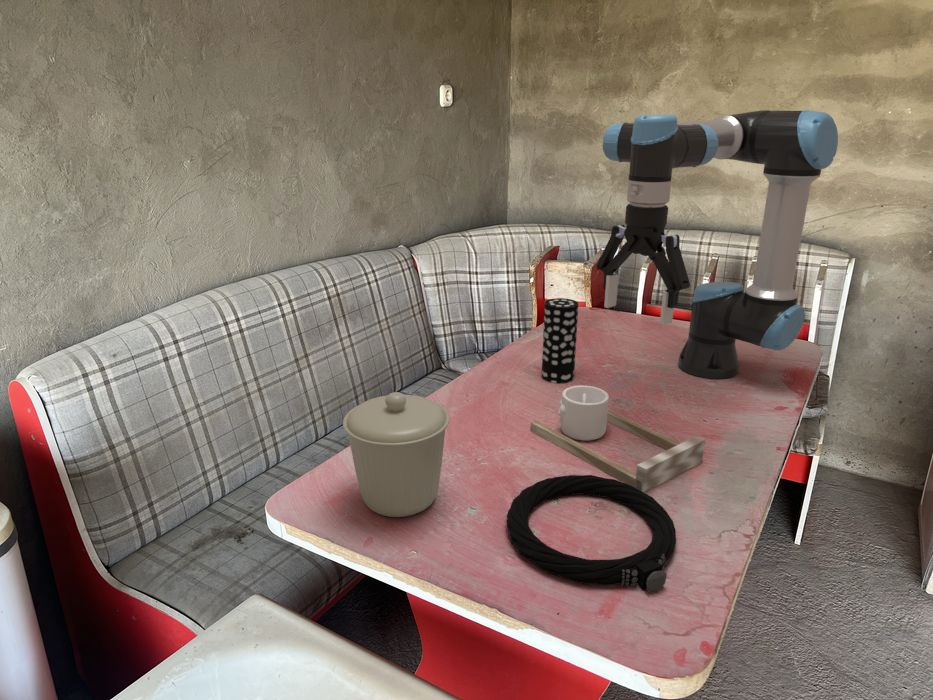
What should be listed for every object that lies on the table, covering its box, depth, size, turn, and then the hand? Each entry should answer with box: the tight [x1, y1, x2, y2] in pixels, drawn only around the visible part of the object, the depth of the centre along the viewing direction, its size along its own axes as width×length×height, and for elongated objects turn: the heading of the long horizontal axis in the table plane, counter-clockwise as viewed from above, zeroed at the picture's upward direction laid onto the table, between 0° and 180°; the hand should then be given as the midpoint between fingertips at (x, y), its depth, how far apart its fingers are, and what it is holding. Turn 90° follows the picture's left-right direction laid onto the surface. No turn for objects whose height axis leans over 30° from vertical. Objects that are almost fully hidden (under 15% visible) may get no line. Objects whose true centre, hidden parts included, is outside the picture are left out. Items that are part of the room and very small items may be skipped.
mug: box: [558, 385, 610, 442], centre depth 141 cm, size 12×10×9 cm
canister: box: [342, 391, 451, 518], centre depth 114 cm, size 18×18×21 cm
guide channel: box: [530, 409, 706, 493], centre depth 135 cm, size 18×30×5 cm, turn 37°
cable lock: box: [506, 474, 677, 594], centre depth 108 cm, size 28×4×30 cm
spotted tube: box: [541, 297, 579, 384], centre depth 166 cm, size 8×8×20 cm
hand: (636, 314), depth 128 cm, fingers open, 13 cm apart
